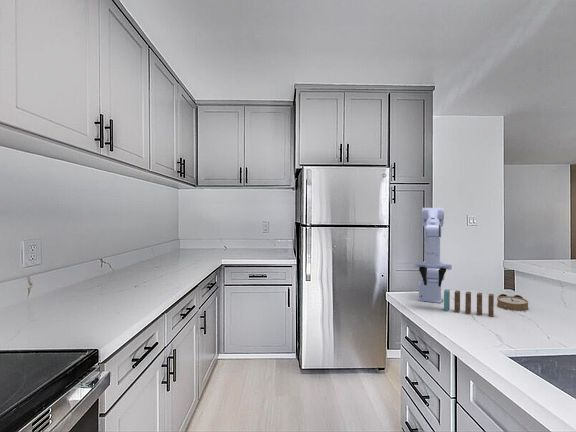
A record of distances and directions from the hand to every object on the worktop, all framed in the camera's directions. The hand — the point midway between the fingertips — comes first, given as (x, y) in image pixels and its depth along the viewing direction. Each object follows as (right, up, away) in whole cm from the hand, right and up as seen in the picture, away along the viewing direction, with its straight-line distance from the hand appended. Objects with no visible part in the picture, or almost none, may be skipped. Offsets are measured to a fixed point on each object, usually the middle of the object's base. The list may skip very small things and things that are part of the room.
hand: (432, 285), depth 155 cm
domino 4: (+18, -10, -11) cm, 23 cm away
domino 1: (+8, -10, -5) cm, 13 cm away
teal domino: (+5, -10, -3) cm, 11 cm away
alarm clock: (+35, -10, +3) cm, 37 cm away
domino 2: (+12, -10, -7) cm, 16 cm away
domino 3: (+15, -10, -9) cm, 20 cm away
